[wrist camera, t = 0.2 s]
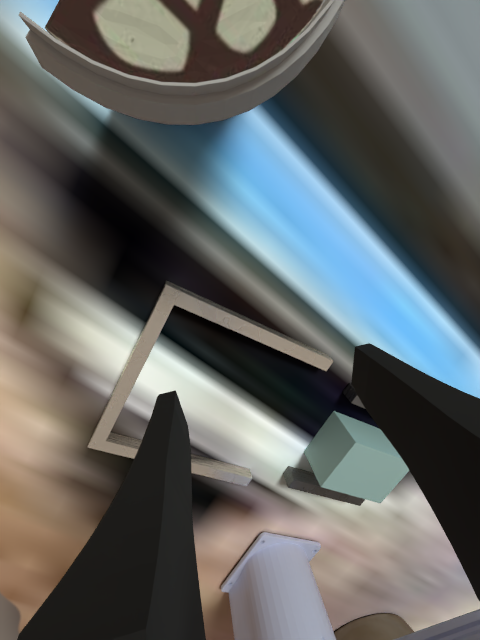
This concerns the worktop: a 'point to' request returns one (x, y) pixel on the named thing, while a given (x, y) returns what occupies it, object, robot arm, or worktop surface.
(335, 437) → the painted block
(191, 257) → the worktop surface
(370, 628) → the plant pot
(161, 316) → the chute
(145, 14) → the food container
